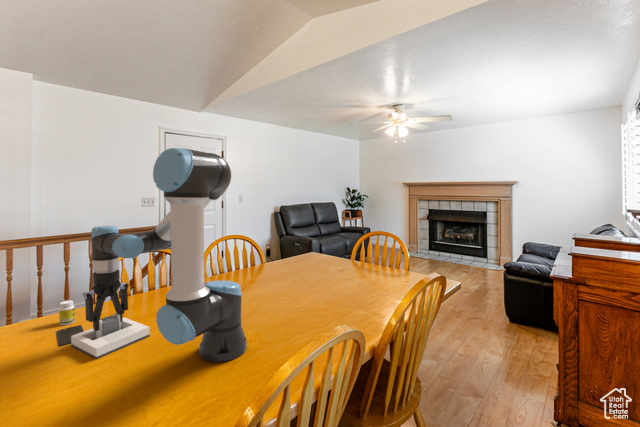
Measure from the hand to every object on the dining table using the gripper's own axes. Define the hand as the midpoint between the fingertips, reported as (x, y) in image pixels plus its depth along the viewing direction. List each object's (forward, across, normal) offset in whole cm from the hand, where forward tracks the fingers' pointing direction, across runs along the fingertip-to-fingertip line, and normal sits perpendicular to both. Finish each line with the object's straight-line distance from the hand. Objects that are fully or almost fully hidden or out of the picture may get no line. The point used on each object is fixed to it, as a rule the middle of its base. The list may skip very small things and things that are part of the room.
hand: (108, 334), depth 104 cm
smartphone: (+2, +5, -15) cm, 16 cm away
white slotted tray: (+2, 0, +2) cm, 3 cm away
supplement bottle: (+2, +1, -28) cm, 28 cm away
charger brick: (0, 0, 0) cm, 1 cm away
